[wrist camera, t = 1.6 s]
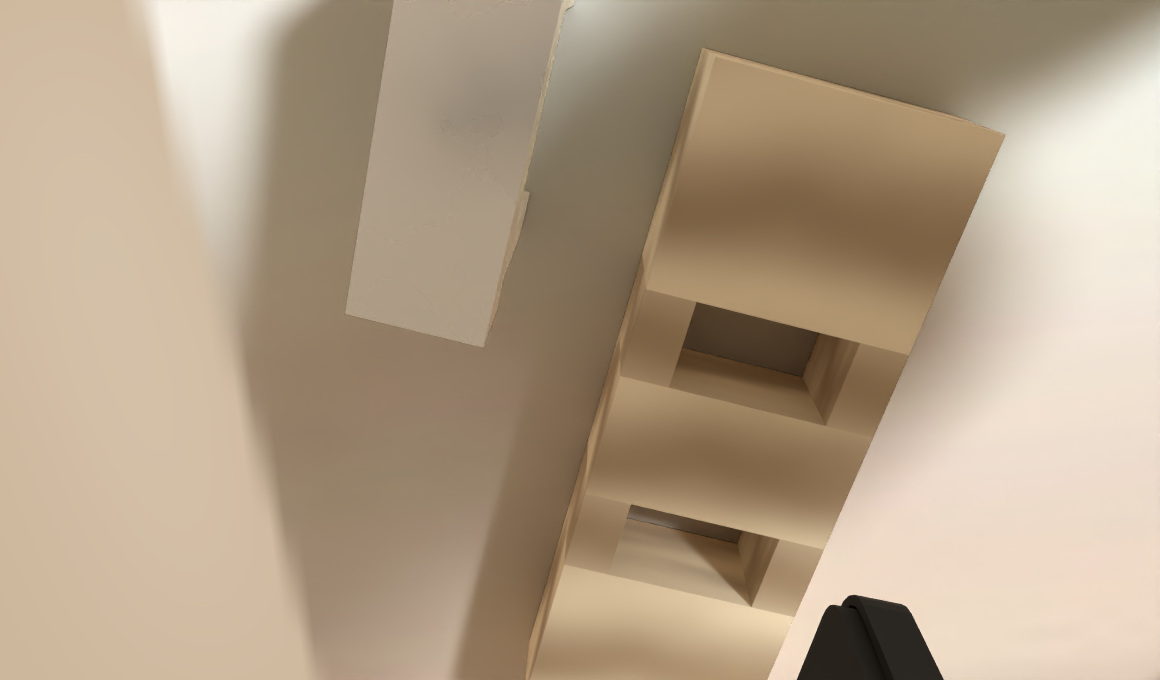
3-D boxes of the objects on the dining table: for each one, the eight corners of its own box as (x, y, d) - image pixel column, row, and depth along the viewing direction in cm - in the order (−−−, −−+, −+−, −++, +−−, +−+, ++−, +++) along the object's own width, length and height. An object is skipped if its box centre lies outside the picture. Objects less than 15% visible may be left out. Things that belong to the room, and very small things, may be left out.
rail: (702, 47, 29) (715, 56, 25) (956, 116, 29) (1005, 134, 26) (529, 640, 38) (520, 709, 35) (722, 683, 39) (733, 756, 35)
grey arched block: (471, -120, 27) (419, -160, 20) (594, -86, 27) (587, -113, 20) (407, 237, 32) (344, 314, 24) (513, 263, 32) (483, 347, 24)
